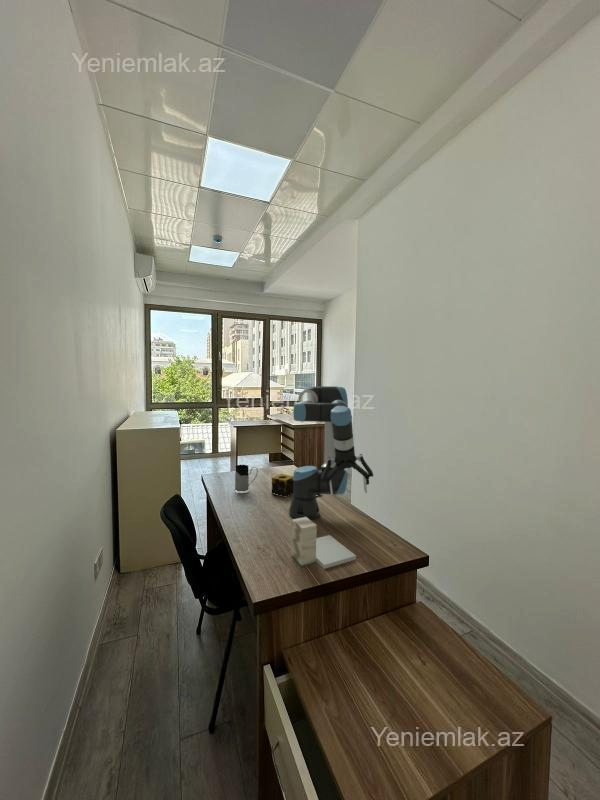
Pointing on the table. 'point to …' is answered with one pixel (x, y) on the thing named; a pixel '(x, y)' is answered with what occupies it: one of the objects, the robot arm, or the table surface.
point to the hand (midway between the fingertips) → (348, 492)
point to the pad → (331, 552)
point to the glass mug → (242, 477)
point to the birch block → (304, 541)
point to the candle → (282, 484)
